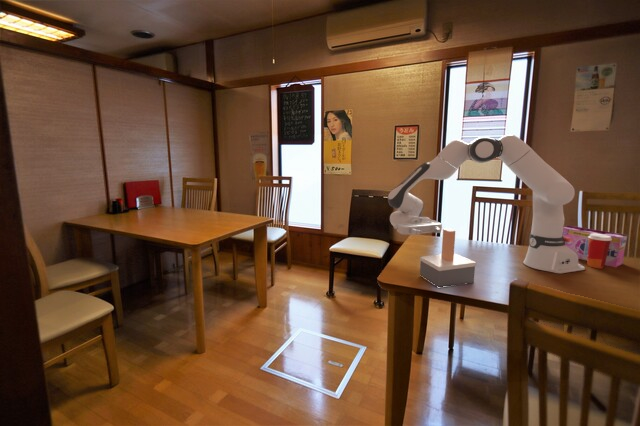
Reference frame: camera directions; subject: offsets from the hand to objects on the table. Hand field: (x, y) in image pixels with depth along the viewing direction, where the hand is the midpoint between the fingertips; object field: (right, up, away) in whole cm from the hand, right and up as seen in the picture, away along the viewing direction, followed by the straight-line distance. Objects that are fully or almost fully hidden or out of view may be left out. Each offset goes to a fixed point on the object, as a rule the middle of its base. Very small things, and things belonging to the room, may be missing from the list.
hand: (429, 231), depth 134 cm
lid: (+4, -13, -9) cm, 17 cm away
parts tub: (+4, -19, -8) cm, 21 cm away
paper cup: (+74, -15, +4) cm, 76 cm away
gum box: (+79, -14, +13) cm, 81 cm away
